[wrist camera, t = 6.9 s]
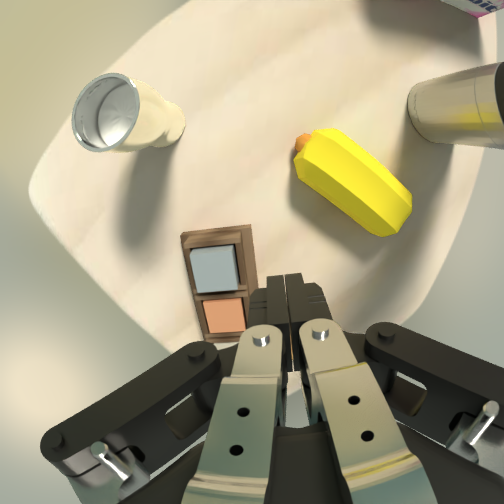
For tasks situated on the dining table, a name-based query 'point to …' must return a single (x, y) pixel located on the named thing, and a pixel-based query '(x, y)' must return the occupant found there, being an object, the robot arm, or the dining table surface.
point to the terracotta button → (225, 315)
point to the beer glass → (124, 116)
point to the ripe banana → (352, 181)
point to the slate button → (215, 268)
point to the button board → (244, 264)
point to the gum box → (477, 6)
